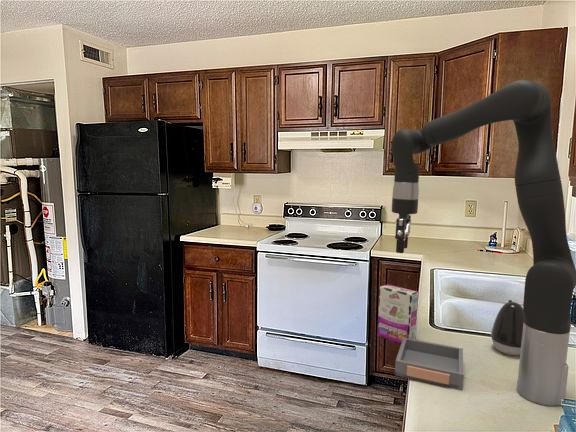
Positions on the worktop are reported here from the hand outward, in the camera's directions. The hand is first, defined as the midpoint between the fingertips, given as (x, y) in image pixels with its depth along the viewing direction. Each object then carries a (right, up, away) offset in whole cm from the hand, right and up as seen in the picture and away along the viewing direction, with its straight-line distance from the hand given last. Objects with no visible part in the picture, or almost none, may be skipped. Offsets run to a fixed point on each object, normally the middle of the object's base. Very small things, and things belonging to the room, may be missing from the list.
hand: (401, 250), depth 123 cm
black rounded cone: (+31, -30, -3) cm, 44 cm away
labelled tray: (+3, -31, -15) cm, 34 cm away
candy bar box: (-1, -29, +3) cm, 29 cm away
